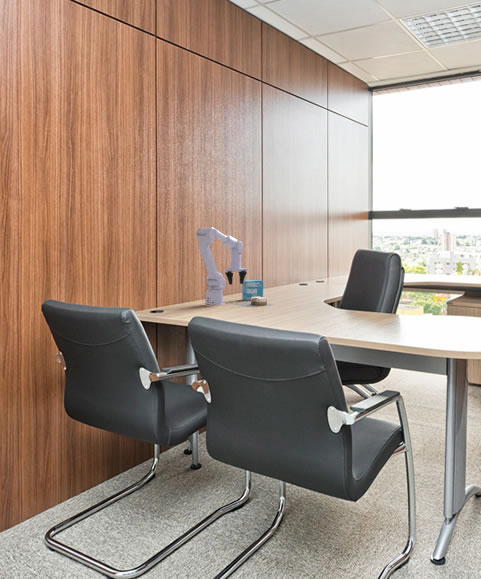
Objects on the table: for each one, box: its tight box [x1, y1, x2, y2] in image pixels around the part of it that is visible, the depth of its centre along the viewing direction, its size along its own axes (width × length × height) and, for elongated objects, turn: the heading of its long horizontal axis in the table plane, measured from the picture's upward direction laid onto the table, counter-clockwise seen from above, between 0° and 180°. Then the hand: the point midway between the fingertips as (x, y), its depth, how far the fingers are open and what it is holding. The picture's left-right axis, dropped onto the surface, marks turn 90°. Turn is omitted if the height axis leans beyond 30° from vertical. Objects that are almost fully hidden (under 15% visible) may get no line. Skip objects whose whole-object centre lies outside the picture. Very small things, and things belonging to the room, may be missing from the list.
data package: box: [241, 279, 264, 301], centre depth 328 cm, size 12×4×12 cm, turn 120°
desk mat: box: [233, 301, 274, 308], centre depth 307 cm, size 18×17×1 cm
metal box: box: [250, 296, 268, 307], centre depth 305 cm, size 8×5×4 cm, turn 35°
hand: (236, 284), depth 321 cm, fingers open, 7 cm apart
